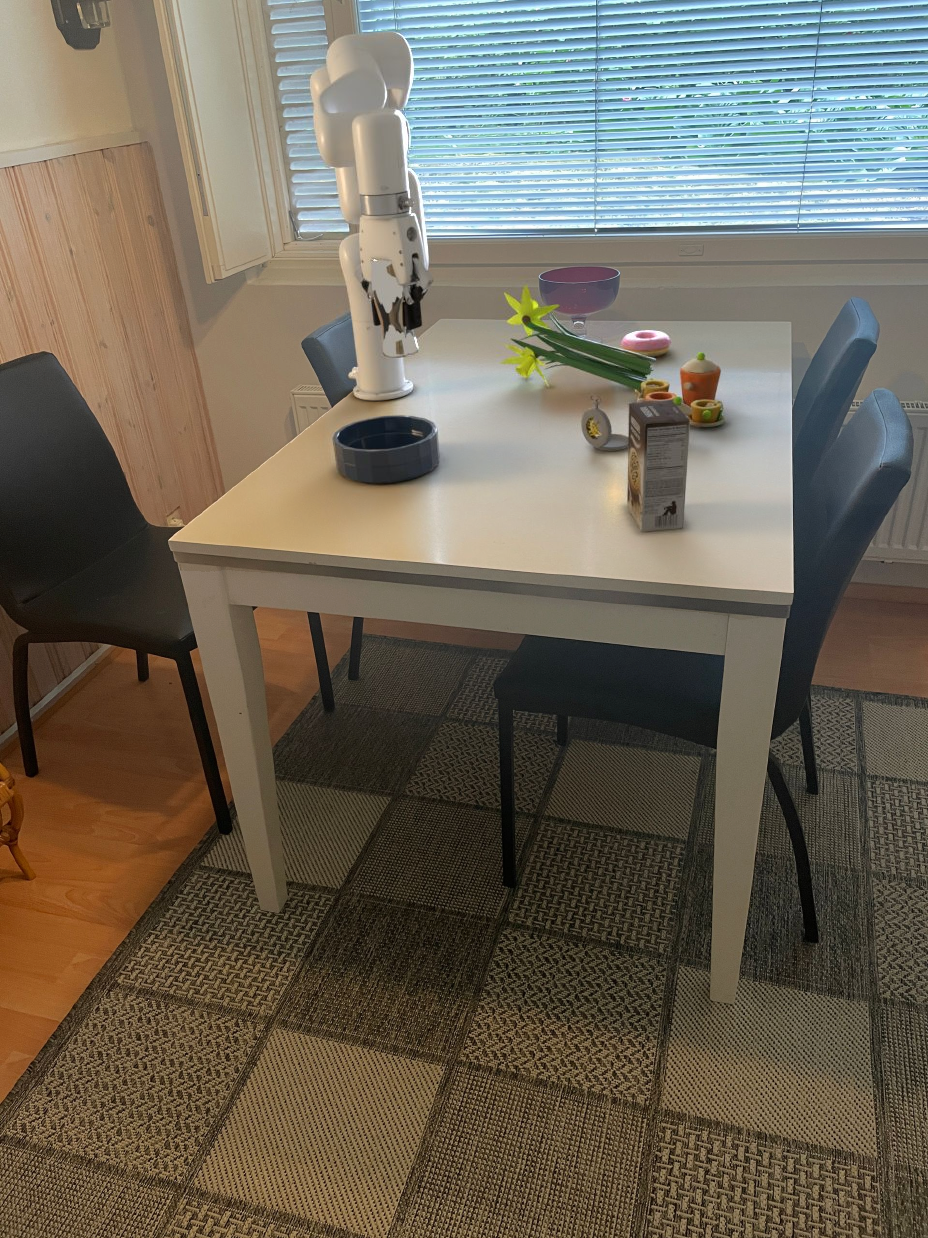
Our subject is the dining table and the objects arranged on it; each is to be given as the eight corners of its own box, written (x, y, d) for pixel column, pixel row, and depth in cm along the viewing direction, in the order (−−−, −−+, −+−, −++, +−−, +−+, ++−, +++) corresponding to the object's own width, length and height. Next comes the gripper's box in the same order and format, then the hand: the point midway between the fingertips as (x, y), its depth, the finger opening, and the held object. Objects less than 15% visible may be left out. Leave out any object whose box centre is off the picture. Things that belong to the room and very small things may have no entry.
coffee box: (625, 507, 141) (627, 401, 132) (667, 502, 141) (672, 397, 133) (640, 533, 133) (643, 422, 125) (685, 528, 133) (691, 418, 125)
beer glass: (416, 358, 150) (406, 259, 142) (374, 358, 151) (362, 260, 144) (426, 346, 156) (417, 250, 148) (385, 347, 157) (375, 252, 150)
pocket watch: (633, 440, 164) (634, 383, 159) (624, 457, 158) (625, 399, 153) (587, 437, 167) (587, 382, 162) (576, 454, 160) (576, 397, 155)
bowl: (316, 473, 161) (311, 439, 158) (385, 441, 173) (382, 409, 170) (392, 493, 151) (387, 458, 148) (460, 458, 163) (457, 424, 160)
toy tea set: (632, 396, 185) (634, 347, 180) (713, 392, 184) (716, 343, 179) (645, 443, 163) (647, 388, 158) (737, 439, 161) (742, 384, 156)
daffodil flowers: (631, 408, 182) (469, 351, 190) (636, 424, 196) (485, 370, 204) (665, 325, 180) (499, 271, 188) (668, 346, 194) (514, 296, 202)
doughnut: (615, 358, 209) (615, 339, 207) (627, 345, 217) (628, 326, 215) (664, 360, 205) (665, 340, 203) (675, 346, 213) (675, 328, 211)
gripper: (445, 202, 140) (454, 325, 149) (361, 200, 149) (374, 315, 159) (412, 210, 135) (423, 337, 144) (327, 207, 145) (343, 326, 154)
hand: (397, 324), depth 151 cm, fingers closed on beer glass, 6 cm apart
